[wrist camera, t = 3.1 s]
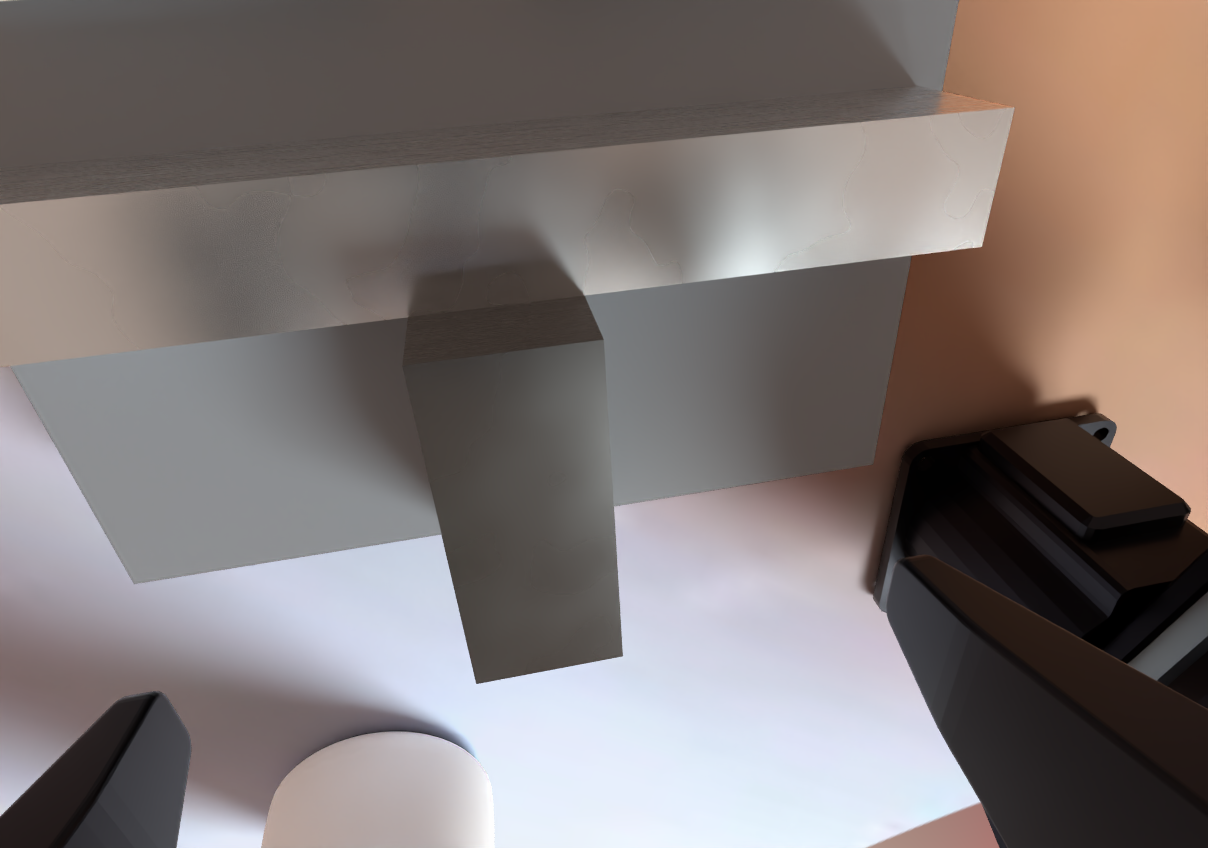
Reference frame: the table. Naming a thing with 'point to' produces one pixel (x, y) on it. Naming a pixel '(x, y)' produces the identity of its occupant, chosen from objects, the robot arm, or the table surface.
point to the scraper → (492, 286)
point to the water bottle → (384, 796)
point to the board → (375, 349)
